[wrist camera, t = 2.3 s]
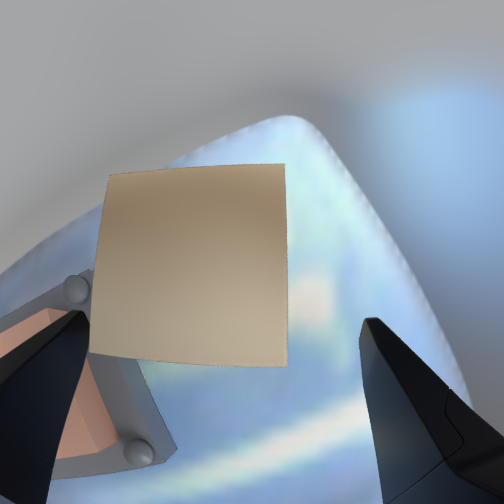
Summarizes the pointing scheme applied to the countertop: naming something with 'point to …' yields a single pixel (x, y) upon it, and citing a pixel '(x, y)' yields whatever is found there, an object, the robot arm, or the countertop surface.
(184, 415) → the countertop surface
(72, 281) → the studded grey base plate
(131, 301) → the tall oak brick
